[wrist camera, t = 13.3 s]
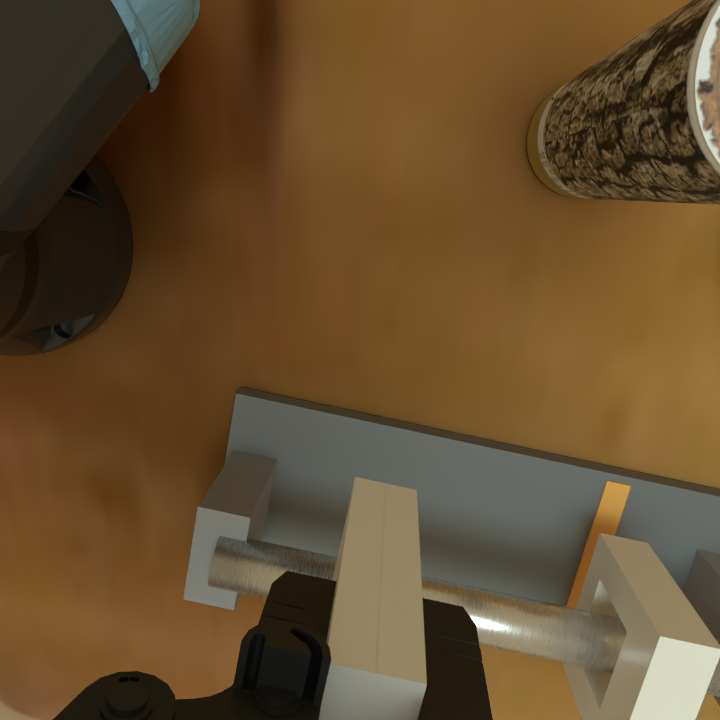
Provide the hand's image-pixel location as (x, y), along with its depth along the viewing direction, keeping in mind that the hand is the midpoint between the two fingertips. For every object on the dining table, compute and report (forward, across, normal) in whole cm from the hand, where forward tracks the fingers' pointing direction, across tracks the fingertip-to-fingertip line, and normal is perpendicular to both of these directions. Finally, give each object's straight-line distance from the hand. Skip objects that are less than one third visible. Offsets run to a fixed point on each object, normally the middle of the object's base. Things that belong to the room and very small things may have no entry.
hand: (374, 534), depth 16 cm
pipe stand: (+29, +9, -14) cm, 34 cm away
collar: (+24, +17, -14) cm, 32 cm away
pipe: (+21, +9, -14) cm, 27 cm away
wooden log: (+30, +9, +13) cm, 34 cm away
